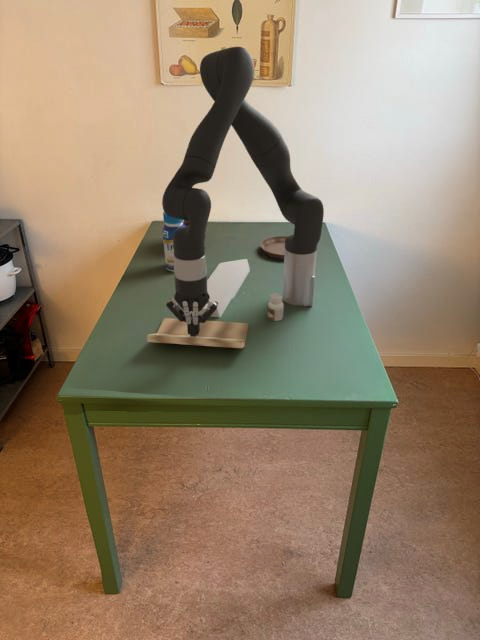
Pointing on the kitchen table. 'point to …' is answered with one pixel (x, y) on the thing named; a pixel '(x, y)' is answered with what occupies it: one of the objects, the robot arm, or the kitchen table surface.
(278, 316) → the pill bottle
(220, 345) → the oak plank
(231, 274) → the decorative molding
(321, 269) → the kitchen table surface
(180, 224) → the beverage bottle
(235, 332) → the laid plank
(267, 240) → the plant saucer
